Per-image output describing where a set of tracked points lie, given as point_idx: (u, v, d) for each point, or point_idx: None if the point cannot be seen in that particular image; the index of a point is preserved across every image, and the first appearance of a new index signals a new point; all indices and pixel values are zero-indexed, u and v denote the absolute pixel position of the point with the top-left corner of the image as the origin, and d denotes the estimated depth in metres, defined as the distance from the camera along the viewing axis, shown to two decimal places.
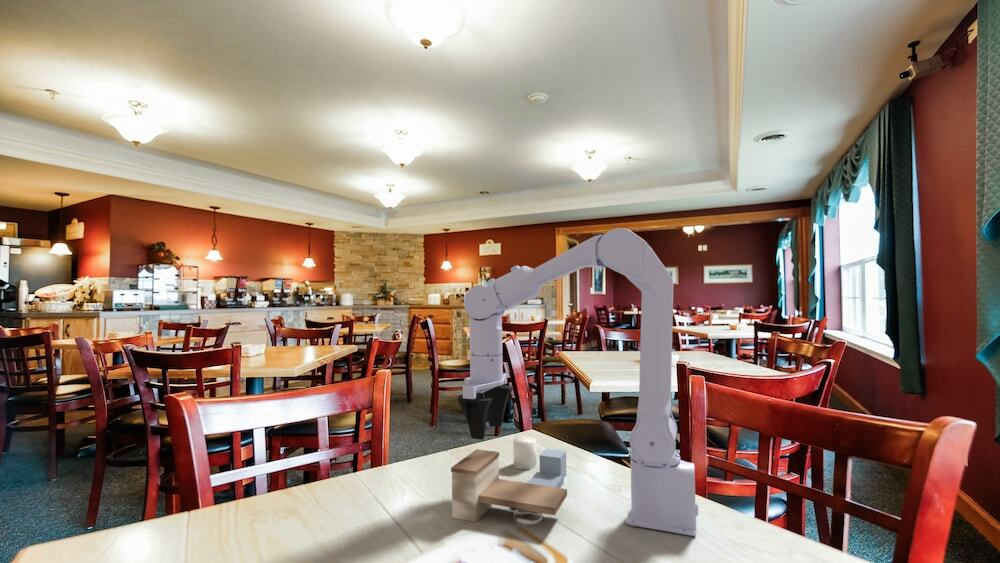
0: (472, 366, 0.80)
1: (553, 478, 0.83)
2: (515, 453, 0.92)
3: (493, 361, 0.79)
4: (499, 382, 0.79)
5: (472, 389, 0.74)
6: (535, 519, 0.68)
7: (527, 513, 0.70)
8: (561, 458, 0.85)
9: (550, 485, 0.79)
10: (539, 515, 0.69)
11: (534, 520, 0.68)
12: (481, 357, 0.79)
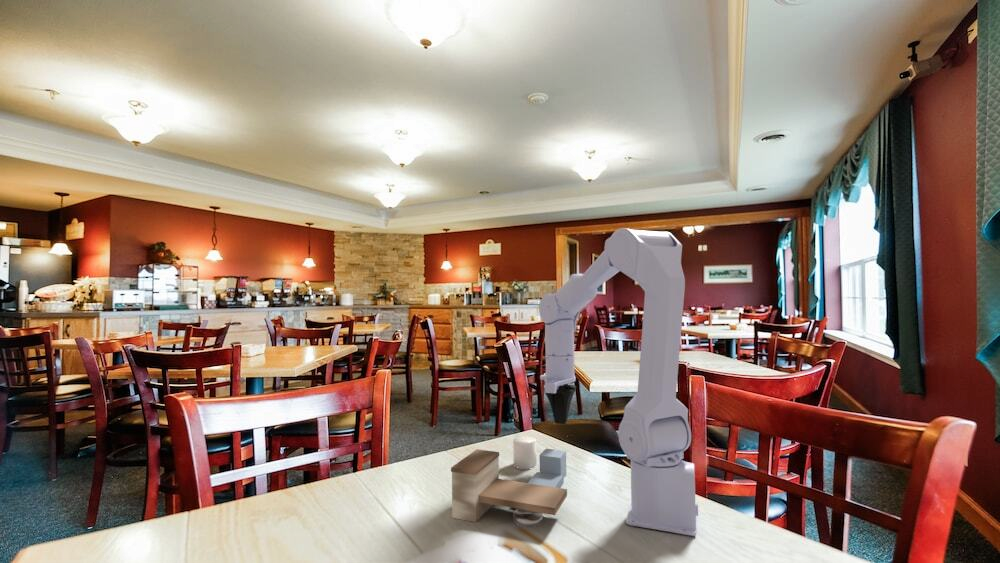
0: (549, 365, 0.91)
1: (553, 477, 0.83)
2: (515, 453, 0.92)
3: (568, 360, 0.90)
4: (573, 379, 0.91)
5: (553, 385, 0.86)
6: (535, 519, 0.68)
7: (527, 513, 0.70)
8: (561, 458, 0.85)
9: (550, 485, 0.79)
10: (539, 515, 0.69)
11: (534, 520, 0.68)
12: (557, 357, 0.90)
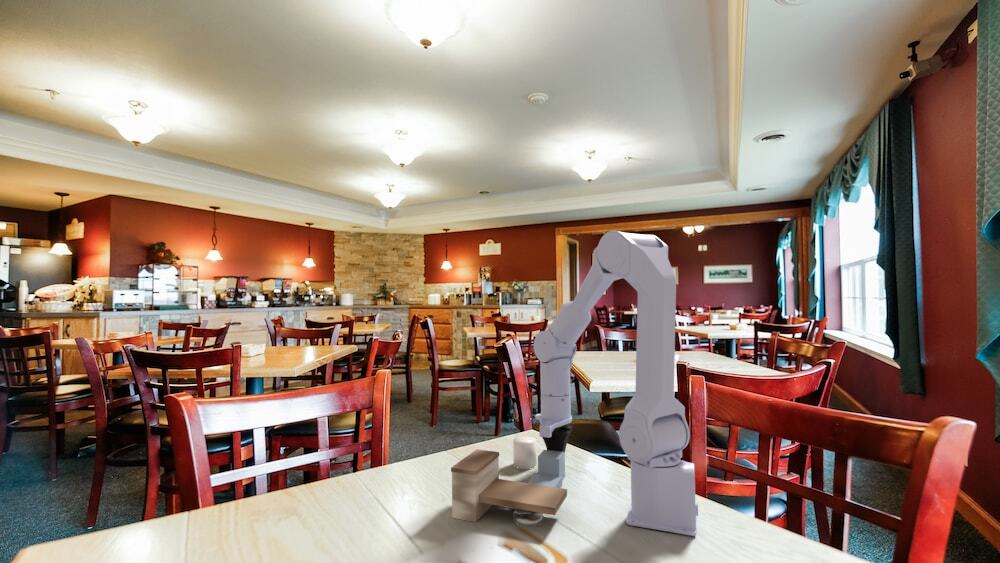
0: (544, 405, 0.88)
1: (551, 479, 0.82)
2: (515, 453, 0.92)
3: (564, 401, 0.87)
4: (569, 420, 0.87)
5: (548, 429, 0.82)
6: (535, 519, 0.68)
7: (527, 513, 0.70)
8: (560, 459, 0.84)
9: None
10: (539, 515, 0.69)
11: (534, 520, 0.68)
12: (553, 397, 0.86)
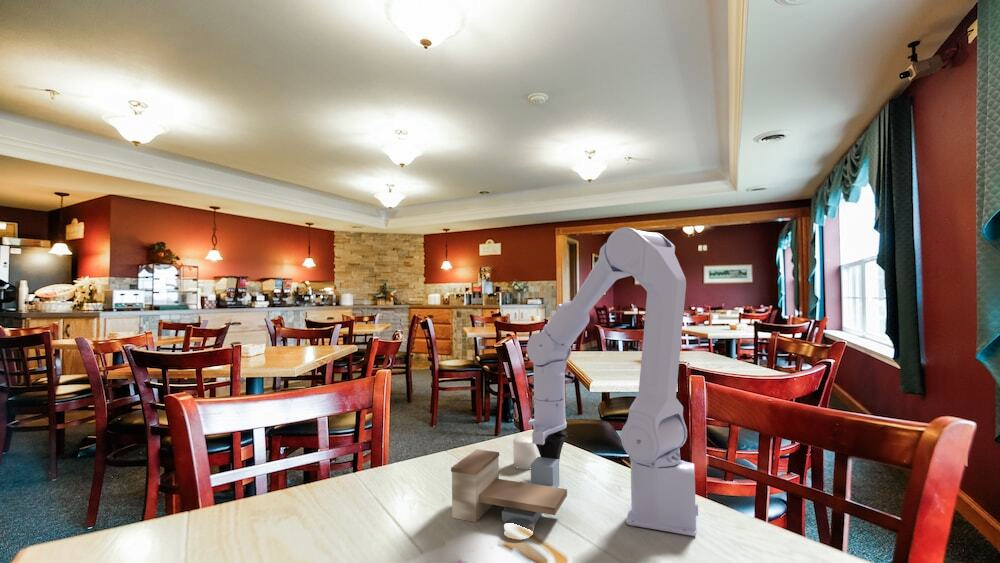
0: (537, 410, 0.84)
1: None
2: (515, 453, 0.92)
3: (558, 406, 0.83)
4: (563, 426, 0.83)
5: (541, 435, 0.78)
6: None
7: None
8: (553, 467, 0.80)
9: None
10: (530, 527, 0.66)
11: None
12: (547, 402, 0.83)
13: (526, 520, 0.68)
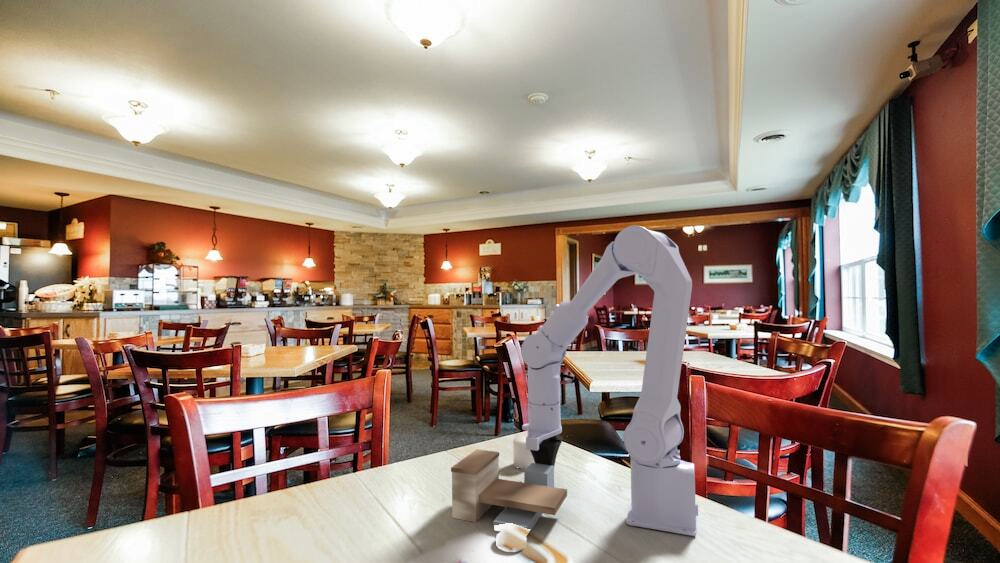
0: (531, 414, 0.81)
1: None
2: (515, 453, 0.92)
3: (553, 410, 0.80)
4: (558, 430, 0.80)
5: (535, 441, 0.75)
6: None
7: None
8: (548, 474, 0.77)
9: None
10: None
11: None
12: (541, 406, 0.80)
13: None
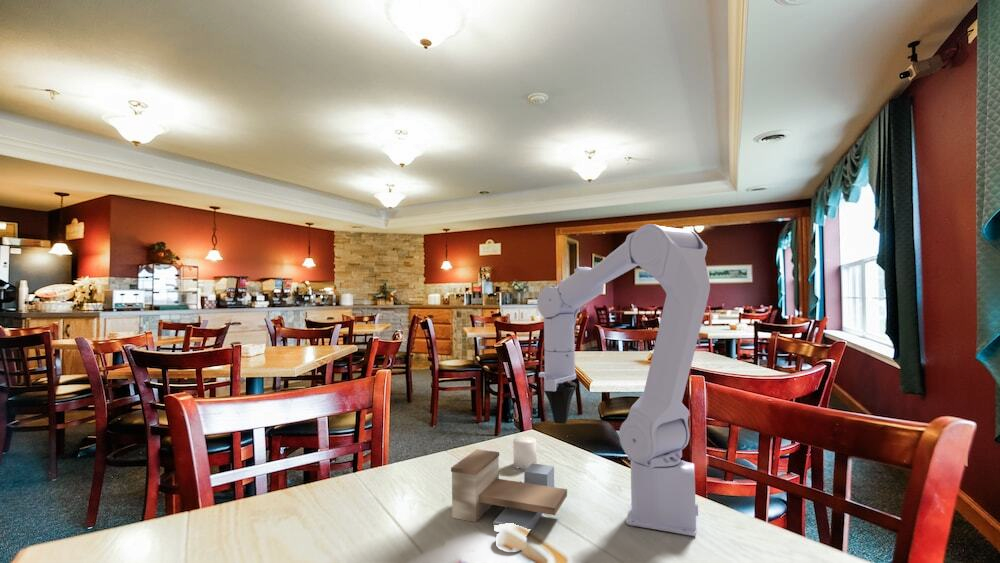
0: (548, 361, 0.86)
1: None
2: (515, 453, 0.92)
3: (568, 356, 0.85)
4: (573, 376, 0.86)
5: (553, 382, 0.81)
6: None
7: None
8: (548, 475, 0.77)
9: None
10: None
11: None
12: (557, 353, 0.85)
13: None
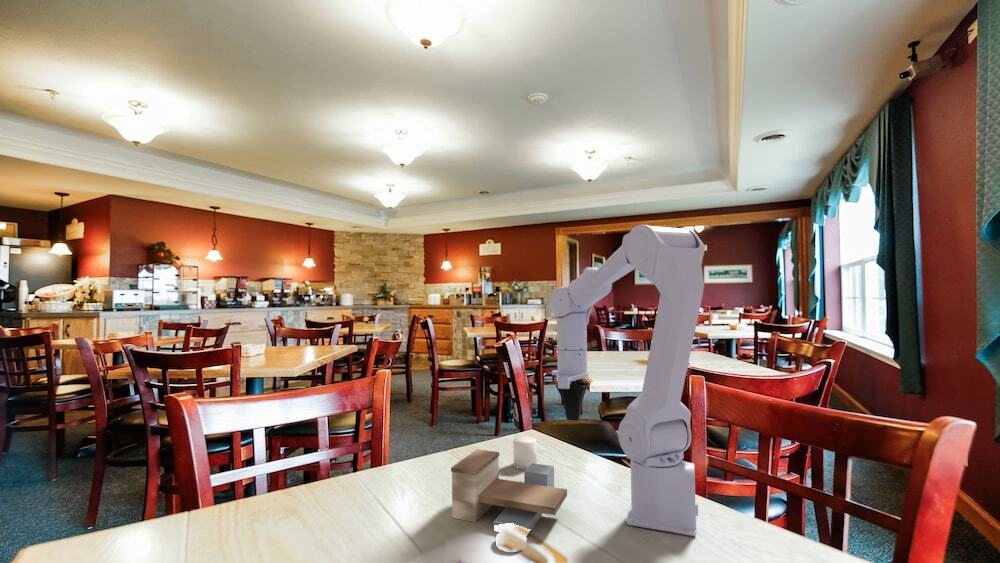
0: (561, 360, 0.88)
1: None
2: (515, 453, 0.92)
3: (581, 355, 0.87)
4: (586, 374, 0.88)
5: (566, 380, 0.83)
6: None
7: None
8: (548, 475, 0.77)
9: None
10: None
11: None
12: (570, 351, 0.87)
13: None
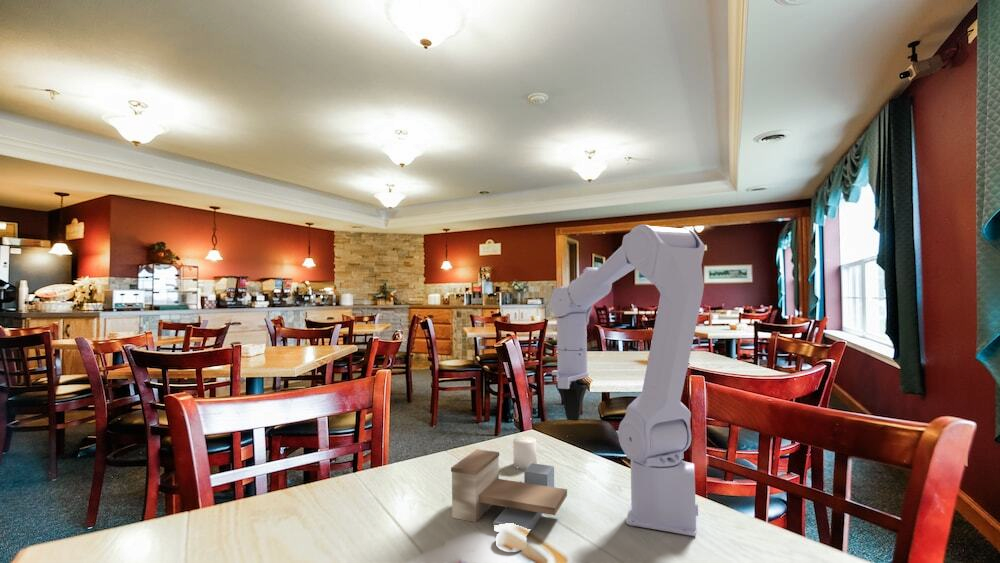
0: (561, 360, 0.88)
1: None
2: (515, 453, 0.92)
3: (581, 355, 0.87)
4: (586, 374, 0.88)
5: (566, 380, 0.83)
6: None
7: None
8: (548, 475, 0.77)
9: None
10: None
11: None
12: (570, 351, 0.87)
13: None
